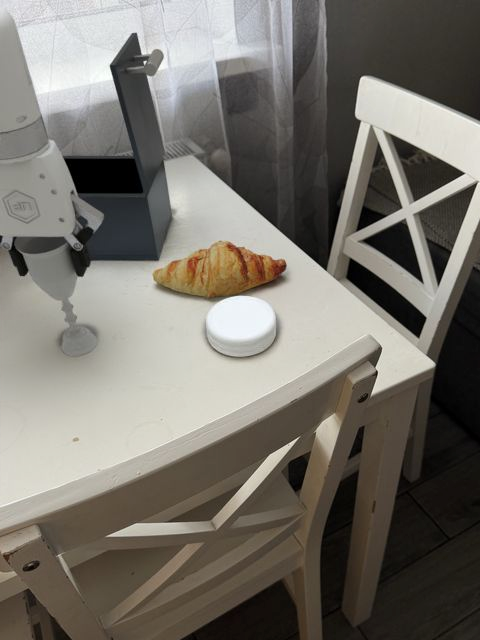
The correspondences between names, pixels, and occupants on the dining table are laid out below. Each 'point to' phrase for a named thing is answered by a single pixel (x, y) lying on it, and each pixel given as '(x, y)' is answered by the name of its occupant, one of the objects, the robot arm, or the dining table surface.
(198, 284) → the croissant
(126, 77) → the lid
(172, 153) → the dining table surface
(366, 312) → the dining table surface
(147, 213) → the dark grey box
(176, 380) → the dining table surface
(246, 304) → the white short cylinder
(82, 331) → the chalice
